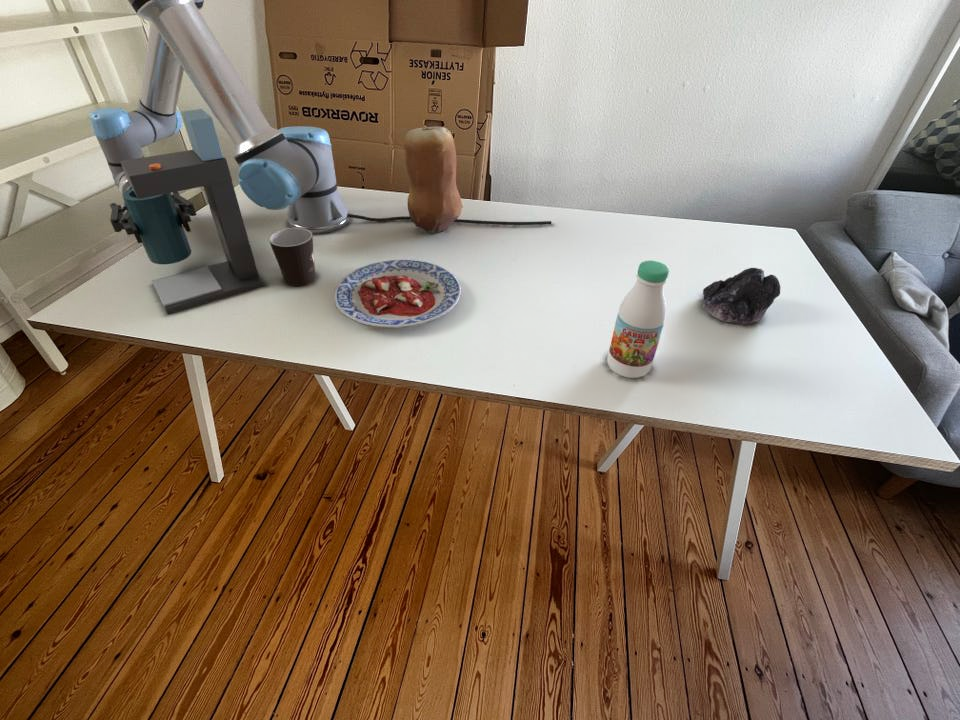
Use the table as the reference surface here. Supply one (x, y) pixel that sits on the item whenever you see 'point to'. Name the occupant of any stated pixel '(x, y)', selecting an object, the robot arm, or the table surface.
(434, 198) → the butternut squash
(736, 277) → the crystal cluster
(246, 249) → the coffee maker
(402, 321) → the ceramic plate
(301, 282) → the coffee mug
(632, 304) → the milk bottle
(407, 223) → the table surface
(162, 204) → the teal tumbler
